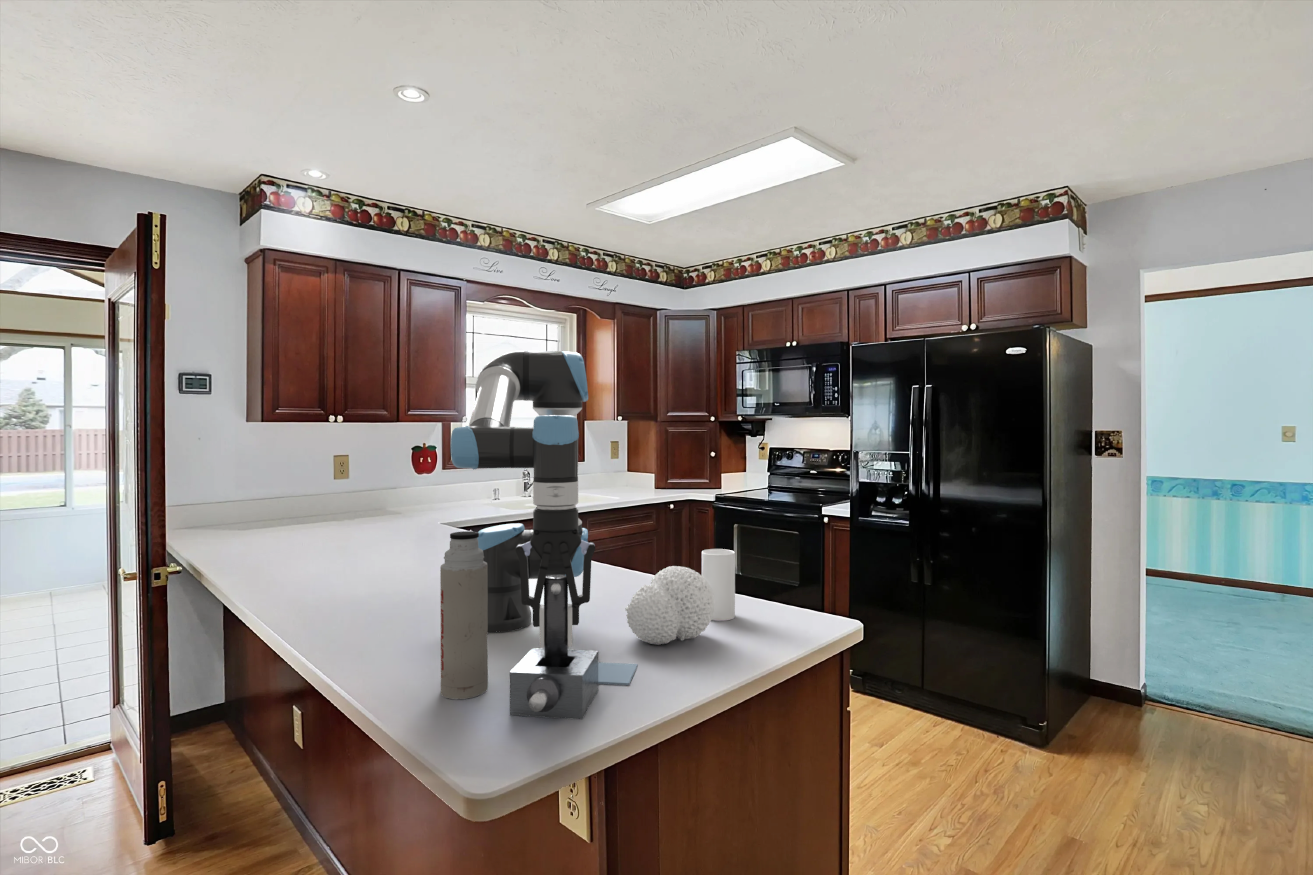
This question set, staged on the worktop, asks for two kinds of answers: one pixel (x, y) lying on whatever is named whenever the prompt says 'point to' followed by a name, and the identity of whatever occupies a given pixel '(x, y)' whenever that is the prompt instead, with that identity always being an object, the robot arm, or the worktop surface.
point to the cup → (720, 581)
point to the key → (556, 621)
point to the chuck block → (554, 685)
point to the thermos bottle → (464, 618)
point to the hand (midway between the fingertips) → (555, 644)
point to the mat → (615, 673)
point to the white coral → (671, 606)
